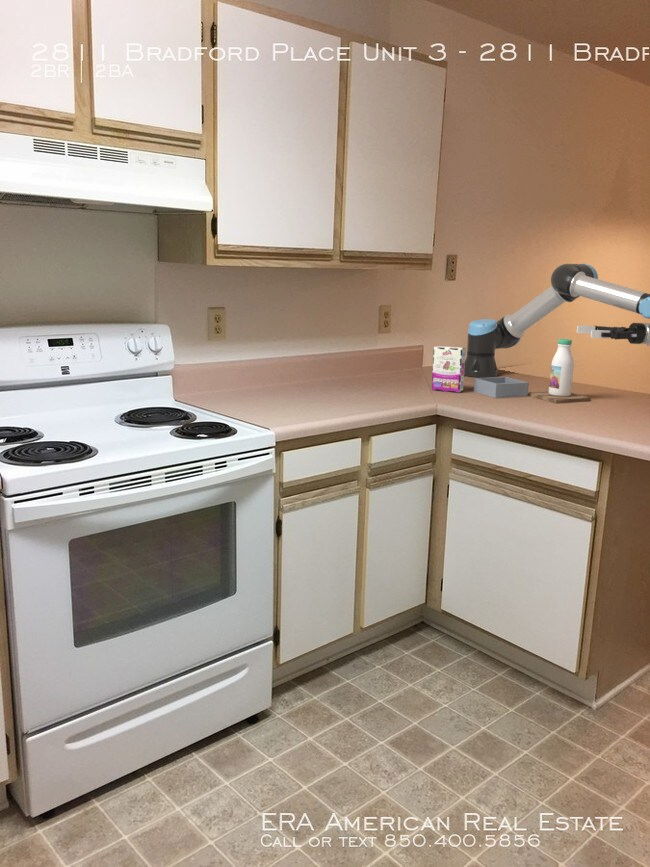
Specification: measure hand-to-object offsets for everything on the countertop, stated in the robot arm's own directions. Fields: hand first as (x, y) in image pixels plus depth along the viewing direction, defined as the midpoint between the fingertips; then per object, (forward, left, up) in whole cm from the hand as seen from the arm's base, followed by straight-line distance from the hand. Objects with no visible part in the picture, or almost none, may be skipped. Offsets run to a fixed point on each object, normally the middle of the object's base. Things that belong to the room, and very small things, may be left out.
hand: (583, 331), depth 261 cm
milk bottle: (+1, -10, -23) cm, 25 cm away
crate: (-12, -25, -24) cm, 37 cm away
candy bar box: (-23, -41, -24) cm, 53 cm away
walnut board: (+2, -10, -24) cm, 26 cm away
